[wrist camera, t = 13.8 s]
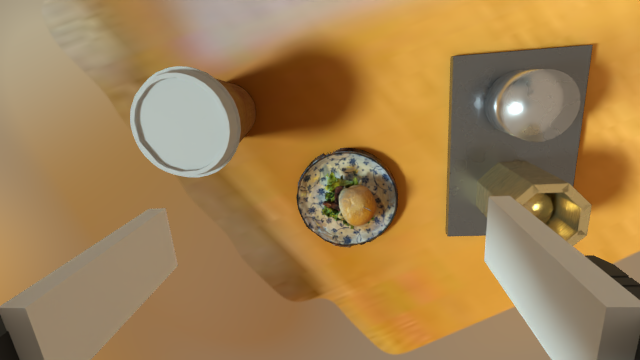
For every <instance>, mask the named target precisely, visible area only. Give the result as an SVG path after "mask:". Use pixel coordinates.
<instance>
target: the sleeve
mask: <svg viewBox="0 0 640 360" xmlns="http://www.w3.org/2000/svg"><path fill="white" fill-rule="evenodd" d="M536 193H544V194H545V195H547V196H548V197H549V198H550V200H551V202H552V205H553V212H552V215H551V217H550V219H549V220H548V221H547V222H546V223H545V224H546V225H547V226H548V227H549V228H551V229H552V230H553V231H554V232H555V233H557V234H558V235H559V236H560V237H562V238H563V239H564V240H565V241H567V242H568V243H569V244H570V245H572V246H574V245H575V244H576V243H577V242H579V241H580V240H581V239H583V238H584V237H585V236H587V231H588V225H589V219H590V212H591V206H592V205H591V204H590V203H589V202H588V201H587V200H586V199H585V198H584V197H583V196H582V195H581V194H580V193H579V192H578V191H577V190H576V189H575V188H574V187H572V186H571V185H570V184H569V183H568V182H566V181H564V180H562V179H560V178H558V177H556V176H554V175H552V174H550V173H548V172H546V171H544V170H543V169H541V168H539V167H537V166H535V165H533V164H531V163H529V162H527V161H517V162H498V163H497V164H496V165H495V166H493V167H492V168H491V169H490V170H489V171H488V172H487V173H486V174H485V175H484V176H482V177H481V178H480V179H479V180H478V181H477V195H476V206H477V207H478V209H479V210H480V211H481V212H482V213H483V214H484V215H485V216H486V217H487V213H488V198H489V197H490V196H511V197H512V198H513V199H514V200H516V201H517V202H518V203H519V204H521V205H523V204H524V203H526V202H527V201H528V200H529V199H530V198H532V197H533V196H534V195H535V194H536Z"/></svg>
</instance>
